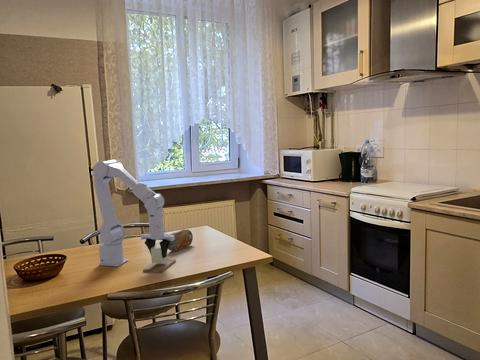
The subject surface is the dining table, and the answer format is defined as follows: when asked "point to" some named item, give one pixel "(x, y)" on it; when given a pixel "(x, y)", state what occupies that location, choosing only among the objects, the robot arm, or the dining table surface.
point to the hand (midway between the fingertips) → (159, 256)
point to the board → (159, 266)
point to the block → (157, 254)
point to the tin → (181, 240)
